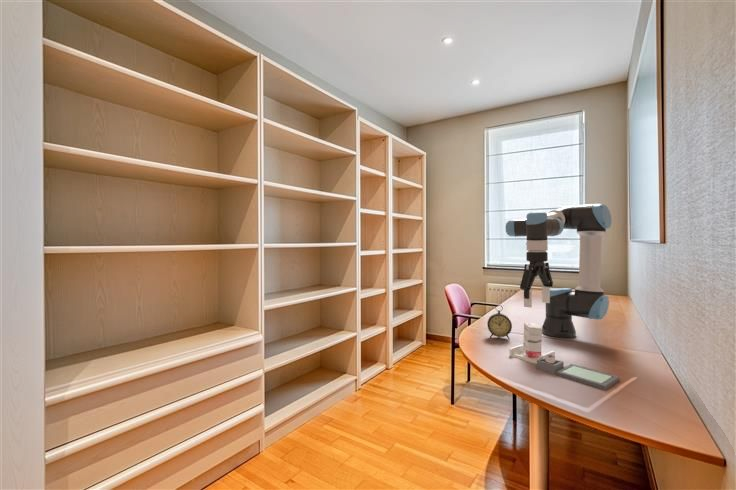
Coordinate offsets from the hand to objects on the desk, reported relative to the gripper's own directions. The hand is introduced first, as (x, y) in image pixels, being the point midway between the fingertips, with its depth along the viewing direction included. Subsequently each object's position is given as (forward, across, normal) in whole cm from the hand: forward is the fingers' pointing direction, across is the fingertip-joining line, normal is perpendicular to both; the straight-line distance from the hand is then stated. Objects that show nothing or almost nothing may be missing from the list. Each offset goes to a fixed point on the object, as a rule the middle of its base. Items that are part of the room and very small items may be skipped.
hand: (537, 304), depth 136 cm
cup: (+22, +8, +9) cm, 25 cm away
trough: (+22, +2, -1) cm, 22 cm away
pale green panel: (+21, +6, +20) cm, 30 cm away
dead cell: (+21, +8, +9) cm, 24 cm away
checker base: (+22, +6, +20) cm, 30 cm away
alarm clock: (+22, -15, -27) cm, 38 cm away
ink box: (+20, +1, -2) cm, 20 cm away
